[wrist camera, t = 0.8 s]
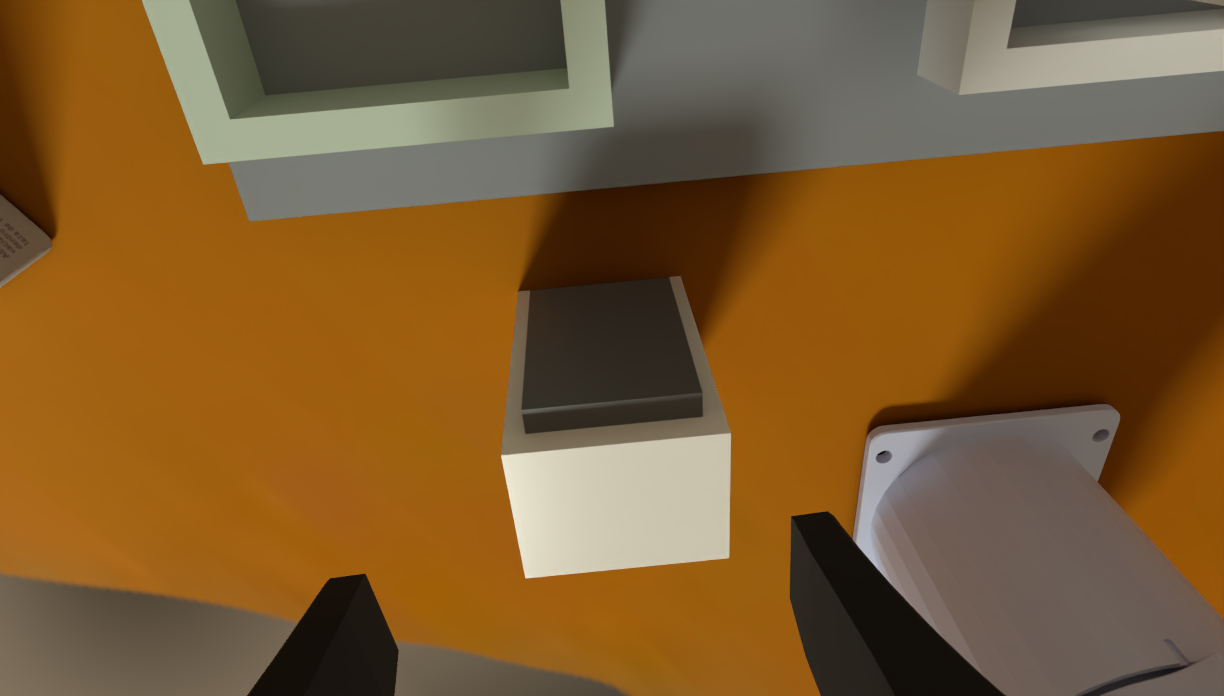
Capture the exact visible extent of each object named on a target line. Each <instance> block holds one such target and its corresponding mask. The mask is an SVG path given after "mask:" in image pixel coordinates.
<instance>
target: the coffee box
mask: <svg viewBox="0 0 1224 696" xmlns="http://www.w3.org/2000/svg"><path fill="white" fill-rule="evenodd" d="M51 247H52V240H51V239H50V238H49V237H48V236H47V235H46V234H45V232H43V231H42V230H41V229H40V228H39V227H38V226H36V225H35V224H34V223H33V222H32V221H31V220H29V219H28V218H27V217H26V216H25V215H24V214H23V213H21V212H20V211H19V210H18V209H17V208H16V207H14V206H13V205H12V204H11V203H10V202H9V201H8V200H6V199H5V198H4V197H3V196H2V195H1V194H0V287H2V286H3V285H4V284H6V283H7V282H8V281H10V280H11V279H12V278H14V277H15V276H16V275H18V274H19V273H20V272H22V271H23V270H25V269H26V268H27V267H29V266H30V265H31V264H33V263H34V262H35V261H37V260H38V259H39V258H41V257H42V256H43V255H44V254H46V253H47V252H48V251H50V250H51Z"/></svg>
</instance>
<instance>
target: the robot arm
mask: <svg viewBox="0 0 1224 696" xmlns="http://www.w3.org/2000/svg"><path fill="white" fill-rule="evenodd" d="M1119 422H1120V414H1119V412H1118V411H1117V410H1116V409H1114V408H1113V407H1112V406H1110V405H1109V404H1097V405H1087V406H1077V407H1067V408H1057V409H1047V410H1036V411H1026V412H1016V413H1006V414H996V415H985V416H975V417H965V418H955V419H945V420H934V421H924V422H914V423H904V424H894V425H884V426H880V427H877V428H875V429H873V430H872V431H871V432H870V433H869V434H868V436H867V439H866V445H865V452H864V459H863V467H862V474H861V481H860V488H859V496H858V503H857V510H856V518H855V525H854V532H853V539H852V538H851V537H850V536H849V535H848V533H847V532H846V531H845V530H844V528H843V527H842V526H841V525H840V523H839V522H838V521H837V519H836V518H835V517H834V516H833V515H832V514H830V513H829V512H828V511H827V512H820V513H812V514H805V515H798V516H791V566H790V600H791V604H792V607H793V611H794V615H795V619H796V622H797V626H798V630H799V633H800V637H801V641H802V644H803V648H804V651H805V655H806V658H807V661H808V663H809V666H810V669H811V671H812V674H813V676H814V679H815V682H816V684H817V687H818V689H819V692H820V694H821V696H1224V619H1223V618H1222V617H1221V616H1220V615H1219V613H1218V612H1217V611H1216V610H1215V609H1214V608H1213V607H1212V606H1211V605H1210V604H1209V603H1208V602H1207V600H1206V599H1205V598H1204V597H1203V596H1202V595H1201V594H1200V593H1199V592H1198V591H1197V590H1196V588H1195V587H1194V586H1193V585H1192V584H1191V583H1190V582H1189V581H1188V580H1187V579H1186V578H1185V577H1184V575H1183V574H1182V573H1181V572H1180V571H1179V570H1178V569H1177V568H1176V567H1175V566H1174V565H1173V563H1172V562H1171V561H1170V560H1169V559H1168V558H1167V557H1166V556H1165V555H1164V554H1163V553H1162V552H1161V550H1160V549H1159V548H1158V547H1157V546H1156V545H1155V544H1154V543H1153V542H1152V541H1151V540H1150V538H1149V537H1148V536H1147V535H1146V534H1145V533H1144V532H1143V531H1142V530H1141V529H1140V528H1139V526H1138V525H1137V524H1136V523H1135V522H1134V521H1133V520H1132V519H1131V518H1130V517H1129V516H1128V515H1127V513H1126V512H1125V511H1124V510H1123V509H1122V508H1121V507H1120V506H1119V505H1118V504H1117V503H1116V501H1115V500H1114V499H1113V498H1112V497H1111V496H1110V495H1109V494H1108V493H1107V492H1106V491H1105V490H1104V488H1103V487H1102V486H1101V485H1100V484H1099V483H1098V480H1099V477H1100V474H1101V471H1102V469H1103V466H1104V463H1105V460H1106V458H1107V455H1108V452H1109V449H1110V447H1111V444H1112V441H1113V438H1114V436H1115V433H1116V430H1117V427H1118V425H1119ZM1097 431H1098V432H1097ZM882 451H886V452H885V453H884V454H882V455H877V454H879V453H880V452H882ZM397 661H398V648H397V646H396V643H395V641H394V639H393V636H392V634H391V632H390V629H389V627H388V625H387V622H386V620H385V618H384V616H383V613H382V611H381V609H380V606H379V604H378V602H377V599H376V597H375V595H374V592H373V590H372V588H371V586H370V583H369V581H368V579H367V576H366V574H360V575H352V576H345V577H338V578H330V579H329V580H328V581H327V582H326V584H325V585H324V586H323V588H322V589H321V591H320V592H319V594H318V595H317V597H316V598H315V599H314V601H313V602H312V604H311V605H310V607H309V608H308V610H307V611H306V613H305V614H304V616H303V617H302V619H301V620H300V621H299V623H298V624H297V626H296V627H295V629H294V630H293V632H292V633H291V635H290V636H289V638H288V639H287V640H286V642H285V643H284V645H283V646H282V648H281V649H280V650H279V652H278V654H277V655H276V656H275V658H274V659H273V661H272V662H271V663H270V665H269V666H268V667H267V669H266V670H265V672H264V673H263V674H262V676H261V677H260V679H259V680H258V681H257V683H256V684H255V685H254V687H253V688H252V690H251V691H250V692H249V694H248V695H247V696H394V693H395V684H396V673H397Z"/></svg>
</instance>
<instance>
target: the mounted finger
mask: <svg viewBox="0 0 1224 696" xmlns="http://www.w3.org/2000/svg"><path fill="white" fill-rule="evenodd" d="M1192 1H1198V2H1204V3H1210V4H1216V5H1222V6H1224V0H1192Z"/></svg>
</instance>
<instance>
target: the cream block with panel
mask: <svg viewBox="0 0 1224 696" xmlns="http://www.w3.org/2000/svg"><path fill="white" fill-rule="evenodd" d="M730 454H731V432H730V429H729V426H728V423H727V420H726V417H725V413H724V410H723V407H722V404H721V401H720V398H719V395H718V392H717V388H716V385H715V382H714V379H713V376H712V373H711V370H710V367H709V363H708V360H707V357H706V354H705V351H704V348H703V345H702V342H701V338H700V335H699V332H698V329H697V326H696V323H695V320H694V317H693V313H692V310H691V307H690V304H689V301H688V298H687V295H686V292H685V288H684V285H683V282H682V279H681V276H675V277H665V278H654V279H644V280H633V281H623V282H612V283H602V284H591V285H580V286H570V287H559V288H549V289H538V290H528V291H518V297H517V307H516V317H515V326H514V336H513V346H512V356H511V365H510V375H509V385H508V394H507V404H506V414H505V423H504V433H503V443H502V452H501V457H502V462H503V467H504V472H505V477H506V482H507V487H508V492H509V497H510V502H511V507H512V512H513V517H514V523H515V528H516V533H517V538H518V543H519V548H520V553H521V558H522V563H523V568H524V573H525V578H534V577H544V576H554V575H564V574H574V573H584V572H594V571H604V570H614V569H624V568H634V567H644V566H654V565H664V564H674V563H684V562H694V561H705V560H715V559H725V558H729V528H730Z"/></svg>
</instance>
